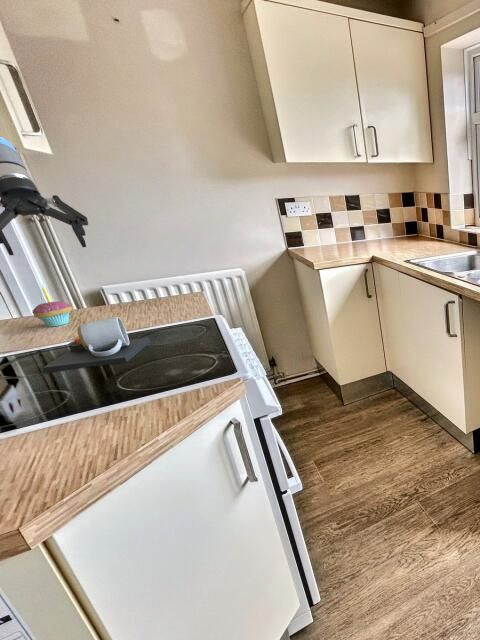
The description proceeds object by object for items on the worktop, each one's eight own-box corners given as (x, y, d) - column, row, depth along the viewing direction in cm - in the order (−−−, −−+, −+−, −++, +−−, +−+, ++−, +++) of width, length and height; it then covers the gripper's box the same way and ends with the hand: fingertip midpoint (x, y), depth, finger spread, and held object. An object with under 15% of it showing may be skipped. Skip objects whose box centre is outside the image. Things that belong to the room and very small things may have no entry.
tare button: (73, 345, 108) (71, 339, 107) (80, 341, 111) (78, 335, 110) (88, 343, 109) (86, 338, 108) (94, 339, 111) (92, 334, 111)
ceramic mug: (88, 347, 109) (77, 319, 106) (130, 339, 114) (119, 313, 111) (84, 361, 102) (72, 332, 99) (129, 353, 106) (118, 324, 103)
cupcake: (41, 324, 132) (23, 286, 127) (78, 317, 137) (62, 281, 132) (38, 331, 126) (19, 292, 121) (77, 323, 131) (60, 286, 126)
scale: (44, 373, 99) (39, 361, 98) (80, 349, 112) (75, 338, 111) (127, 362, 104) (122, 351, 103) (152, 340, 117) (148, 330, 116)
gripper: (80, 193, 125) (112, 249, 122) (-54, 199, 107) (-20, 265, 104) (76, 174, 120) (109, 232, 117) (-65, 176, 102) (-30, 245, 99)
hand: (48, 247), depth 110 cm, fingers open, 13 cm apart
